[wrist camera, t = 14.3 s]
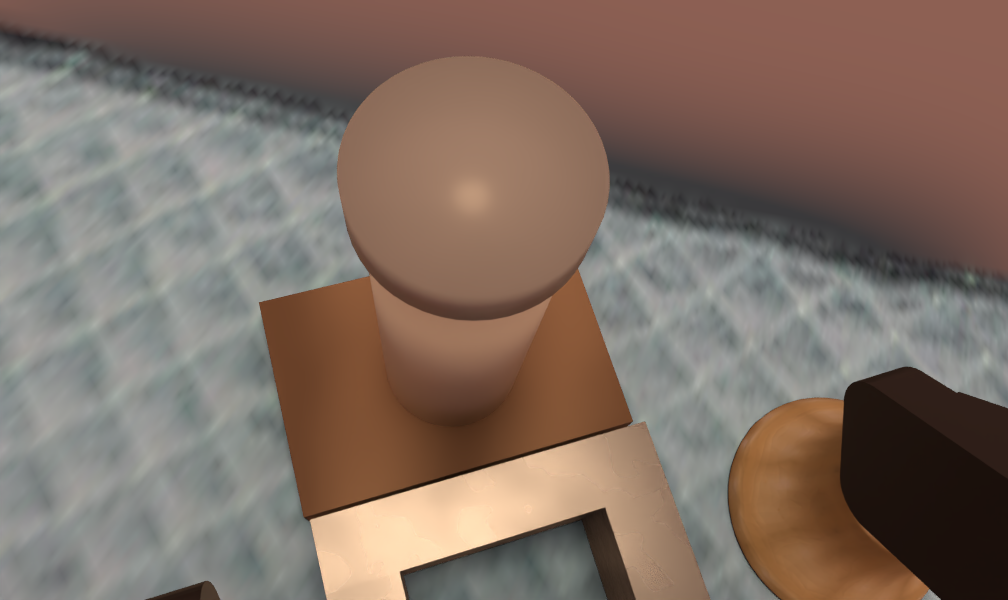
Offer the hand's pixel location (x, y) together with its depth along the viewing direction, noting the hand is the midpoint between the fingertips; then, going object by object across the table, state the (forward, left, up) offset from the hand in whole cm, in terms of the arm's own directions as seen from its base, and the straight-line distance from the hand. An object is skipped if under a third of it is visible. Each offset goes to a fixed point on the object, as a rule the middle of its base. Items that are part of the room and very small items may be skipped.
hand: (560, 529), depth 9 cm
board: (+1, +7, -19) cm, 20 cm away
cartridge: (+1, +7, -18) cm, 19 cm away
